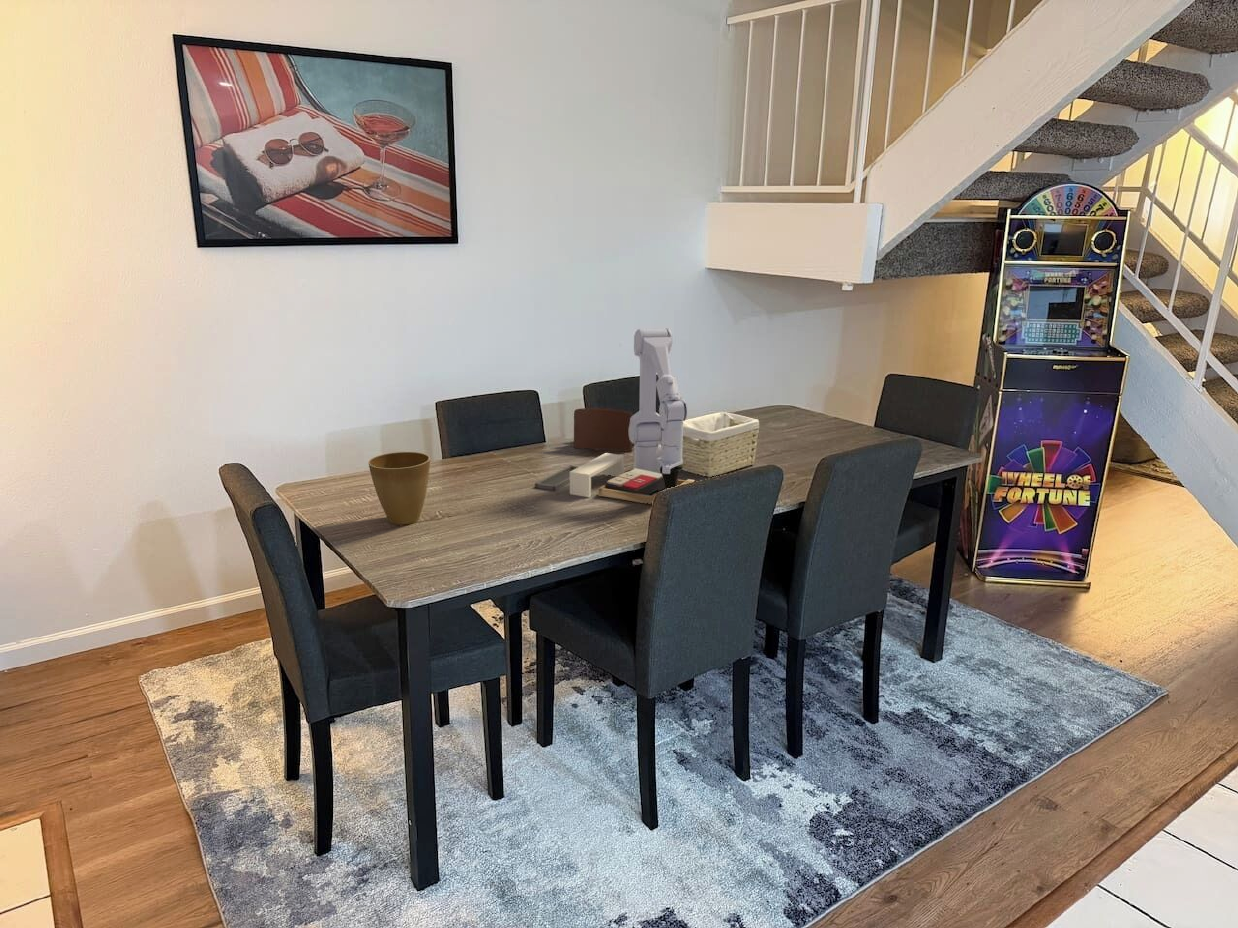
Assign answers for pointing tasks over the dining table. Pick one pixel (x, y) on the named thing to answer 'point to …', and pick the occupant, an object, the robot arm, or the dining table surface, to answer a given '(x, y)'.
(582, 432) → the letter holder
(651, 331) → the robot arm
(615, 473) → the tunnel
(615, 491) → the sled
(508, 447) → the dining table surface
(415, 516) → the plant pot
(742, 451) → the storage basket
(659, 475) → the calculator
